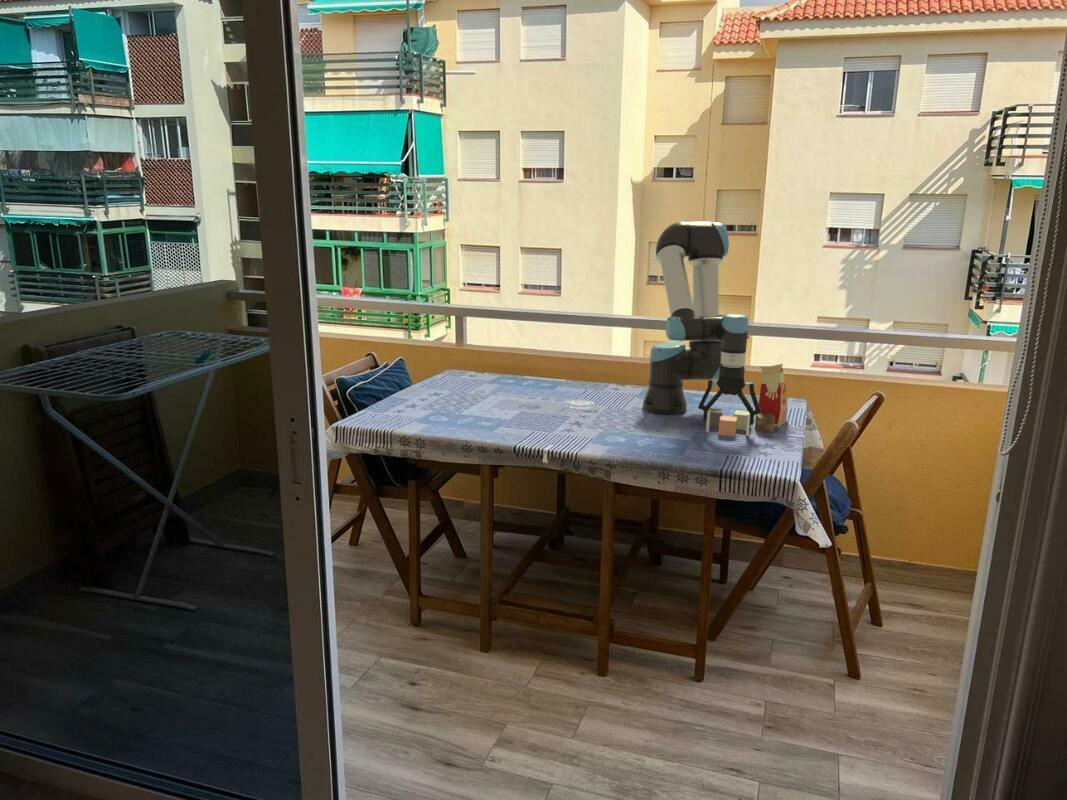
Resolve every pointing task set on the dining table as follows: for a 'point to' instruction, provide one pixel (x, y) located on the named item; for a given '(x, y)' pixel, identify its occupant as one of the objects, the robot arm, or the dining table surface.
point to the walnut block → (765, 423)
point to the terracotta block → (727, 425)
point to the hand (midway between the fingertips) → (727, 432)
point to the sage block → (741, 419)
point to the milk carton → (773, 393)
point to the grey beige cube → (715, 417)
